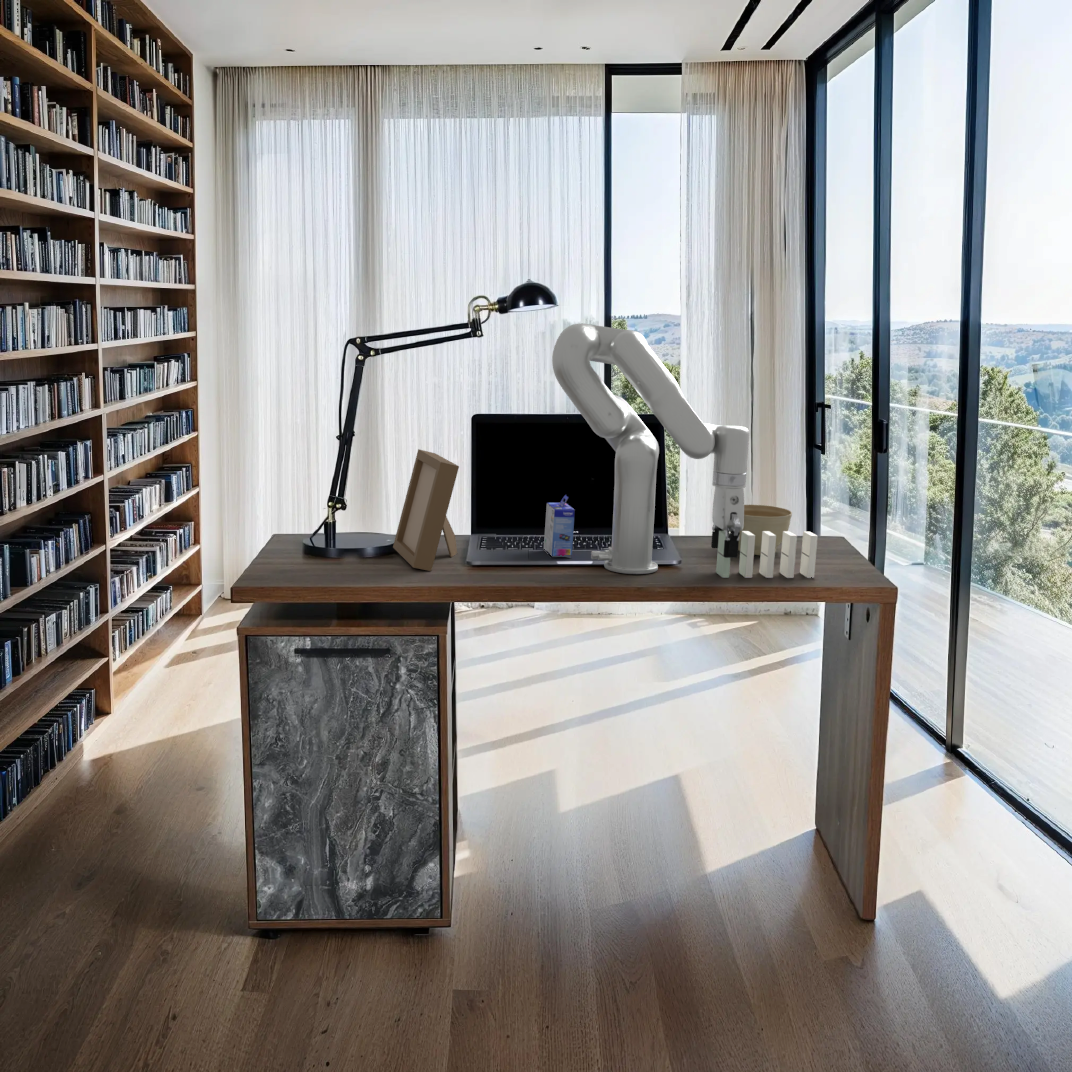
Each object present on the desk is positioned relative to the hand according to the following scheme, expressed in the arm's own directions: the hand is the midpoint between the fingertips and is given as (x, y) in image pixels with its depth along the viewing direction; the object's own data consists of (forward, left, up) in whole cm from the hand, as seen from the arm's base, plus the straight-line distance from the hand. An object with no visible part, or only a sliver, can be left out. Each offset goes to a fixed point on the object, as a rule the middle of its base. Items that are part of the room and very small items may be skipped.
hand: (724, 552), depth 264 cm
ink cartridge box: (-36, +21, -6) cm, 42 cm away
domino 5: (+20, 0, -5) cm, 21 cm away
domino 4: (+15, 0, -5) cm, 16 cm away
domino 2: (+5, 0, -5) cm, 8 cm away
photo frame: (-67, +14, -6) cm, 68 cm away
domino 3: (+10, 0, -5) cm, 12 cm away
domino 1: (0, 0, -5) cm, 5 cm away
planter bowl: (+16, +25, -6) cm, 30 cm away
